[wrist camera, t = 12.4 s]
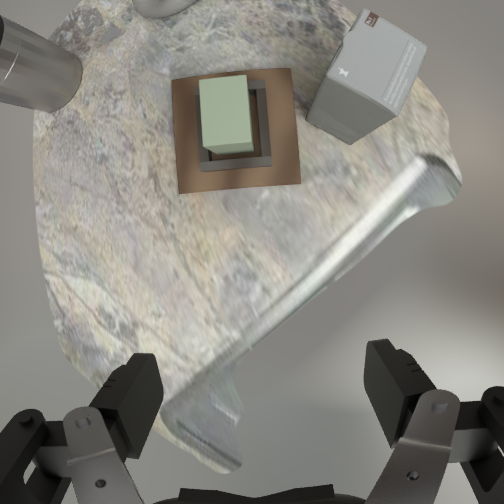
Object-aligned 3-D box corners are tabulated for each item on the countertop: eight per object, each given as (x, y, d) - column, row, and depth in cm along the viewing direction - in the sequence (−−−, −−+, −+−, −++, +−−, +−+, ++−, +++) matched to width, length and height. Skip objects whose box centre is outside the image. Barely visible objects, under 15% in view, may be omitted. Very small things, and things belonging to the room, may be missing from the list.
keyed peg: (215, 105, 34) (198, 80, 24) (250, 101, 34) (246, 74, 24) (218, 155, 35) (203, 146, 25) (254, 152, 35) (251, 142, 25)
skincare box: (349, 146, 36) (404, 128, 20) (297, 117, 35) (321, 77, 20) (377, 92, 34) (438, 50, 19) (327, 63, 34) (364, 2, 18)
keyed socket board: (182, 193, 38) (173, 195, 34) (174, 83, 35) (165, 74, 31) (299, 183, 37) (303, 184, 33) (289, 71, 34) (292, 60, 30)
